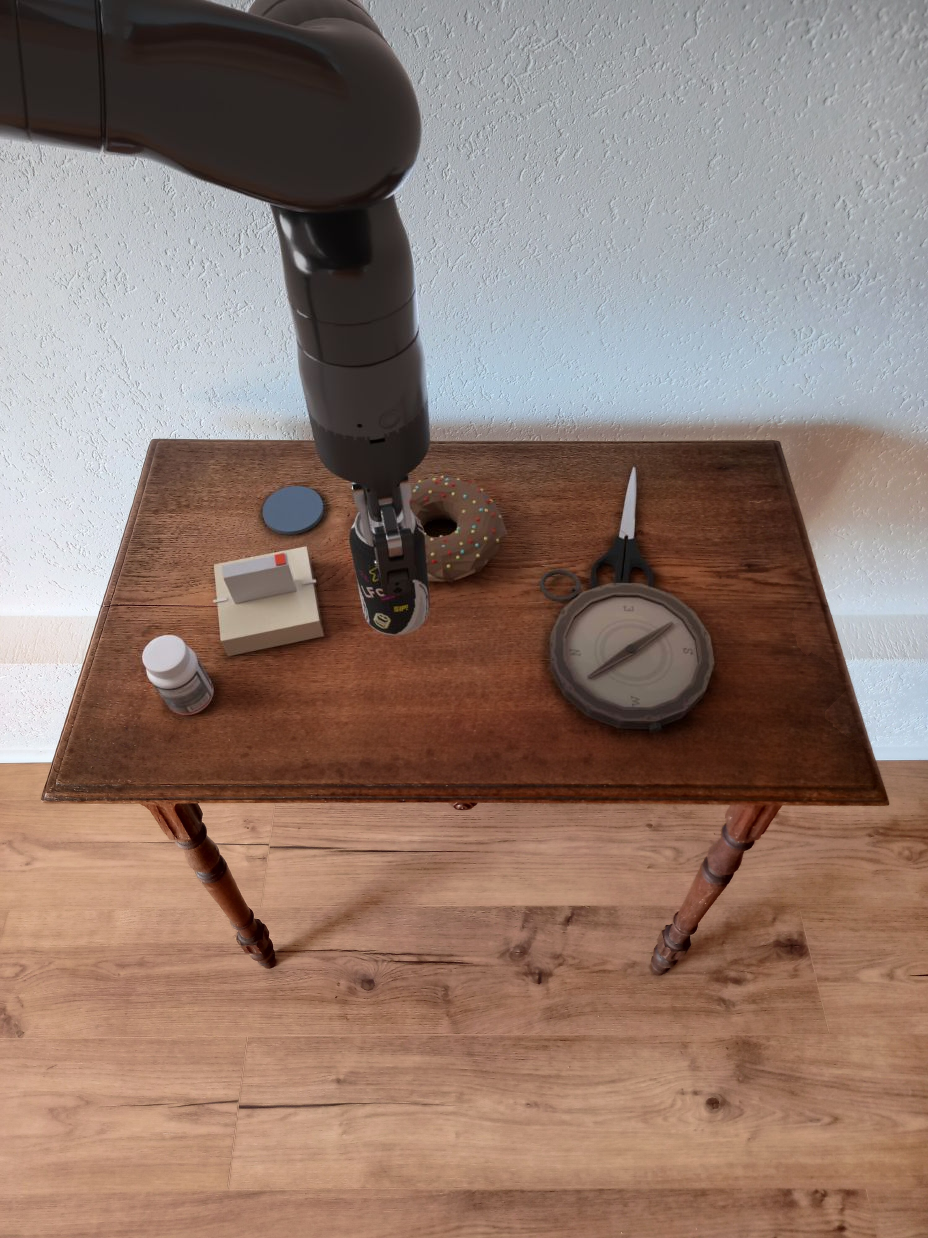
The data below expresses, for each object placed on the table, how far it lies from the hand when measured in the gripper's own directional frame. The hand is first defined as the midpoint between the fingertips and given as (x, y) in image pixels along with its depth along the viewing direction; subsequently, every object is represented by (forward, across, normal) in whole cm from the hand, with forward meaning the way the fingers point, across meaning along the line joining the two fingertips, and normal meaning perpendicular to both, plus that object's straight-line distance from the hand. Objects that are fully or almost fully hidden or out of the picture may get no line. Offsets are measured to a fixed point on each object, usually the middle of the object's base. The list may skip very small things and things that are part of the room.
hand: (389, 558), depth 64 cm
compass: (+21, +1, +23) cm, 31 cm away
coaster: (+21, -26, -9) cm, 35 cm away
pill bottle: (+21, -4, -21) cm, 31 cm away
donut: (+21, -17, +8) cm, 28 cm away
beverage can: (+8, 0, 0) cm, 8 cm away
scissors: (+21, -13, +28) cm, 37 cm away
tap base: (+21, -13, -12) cm, 28 cm away
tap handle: (+18, -13, -12) cm, 25 cm away
